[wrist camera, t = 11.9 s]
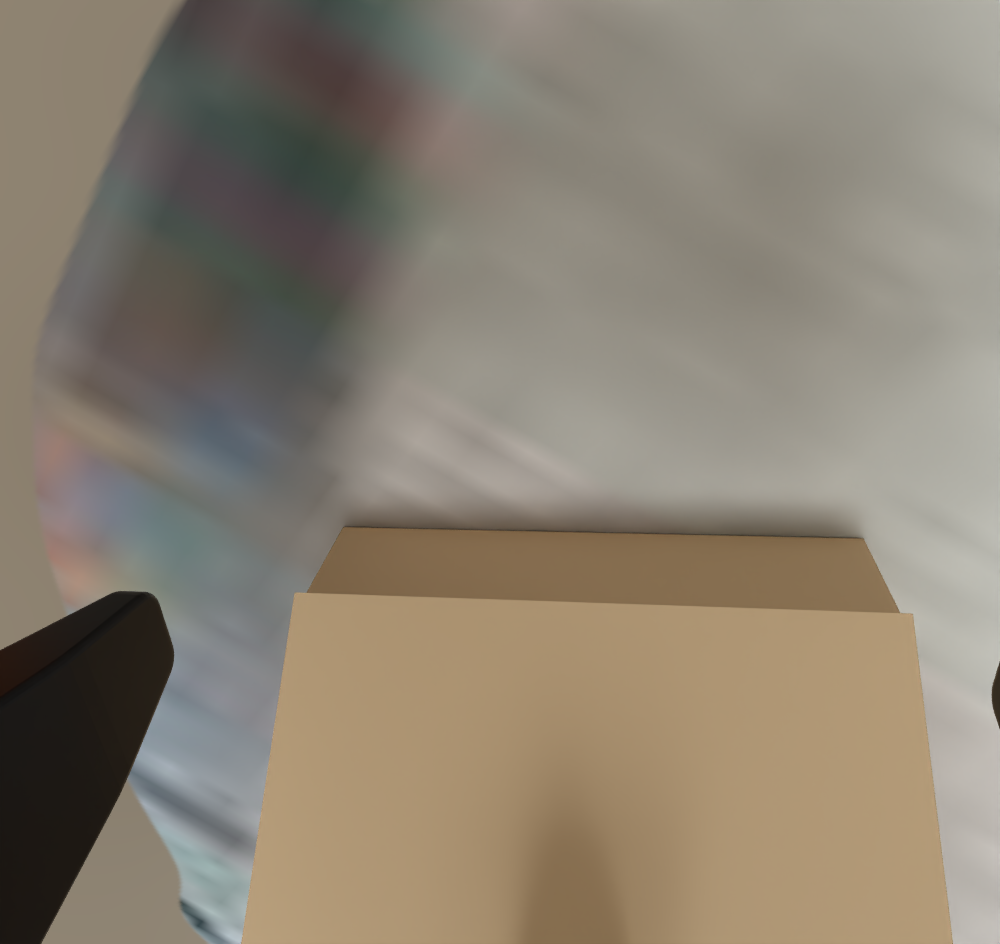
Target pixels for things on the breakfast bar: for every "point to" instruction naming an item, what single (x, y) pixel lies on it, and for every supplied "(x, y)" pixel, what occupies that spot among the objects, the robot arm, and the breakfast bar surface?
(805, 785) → the lid flap
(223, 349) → the breakfast bar surface
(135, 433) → the breakfast bar surface
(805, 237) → the breakfast bar surface
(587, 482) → the breakfast bar surface
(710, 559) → the carton
